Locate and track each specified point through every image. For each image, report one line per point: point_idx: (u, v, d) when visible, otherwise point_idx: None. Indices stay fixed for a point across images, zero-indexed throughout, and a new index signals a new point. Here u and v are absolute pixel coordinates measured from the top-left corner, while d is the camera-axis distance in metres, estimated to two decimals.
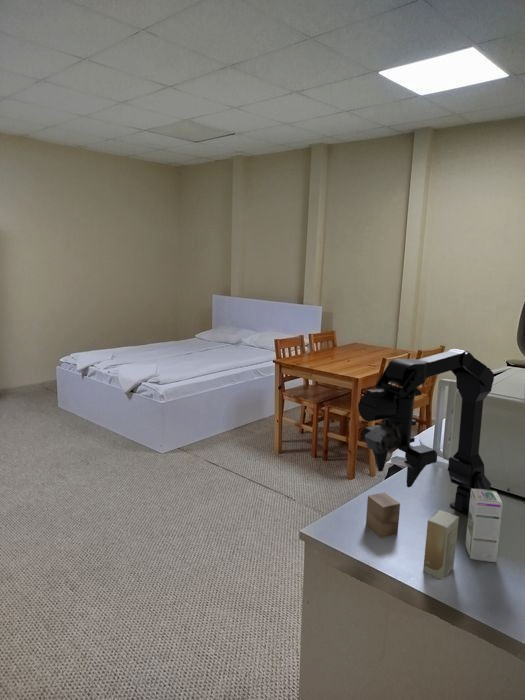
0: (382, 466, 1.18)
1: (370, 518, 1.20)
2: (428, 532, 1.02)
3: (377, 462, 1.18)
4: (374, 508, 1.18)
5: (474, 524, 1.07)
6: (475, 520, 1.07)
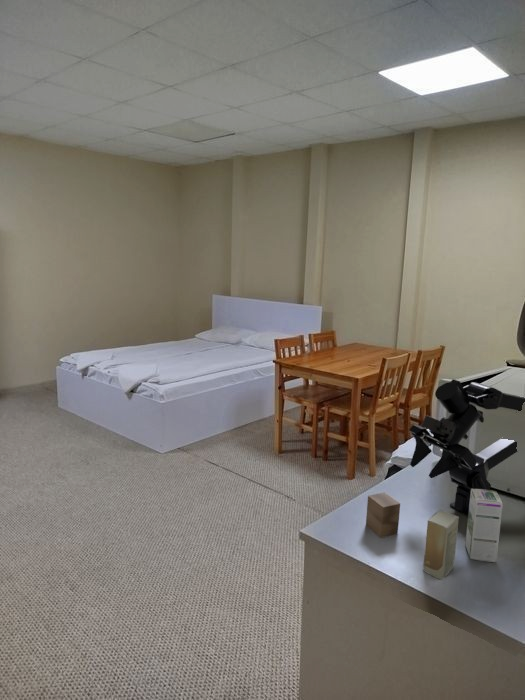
0: (415, 463, 1.25)
1: (370, 518, 1.20)
2: (428, 532, 1.02)
3: (413, 456, 1.25)
4: (374, 508, 1.18)
5: (474, 524, 1.07)
6: (475, 520, 1.07)
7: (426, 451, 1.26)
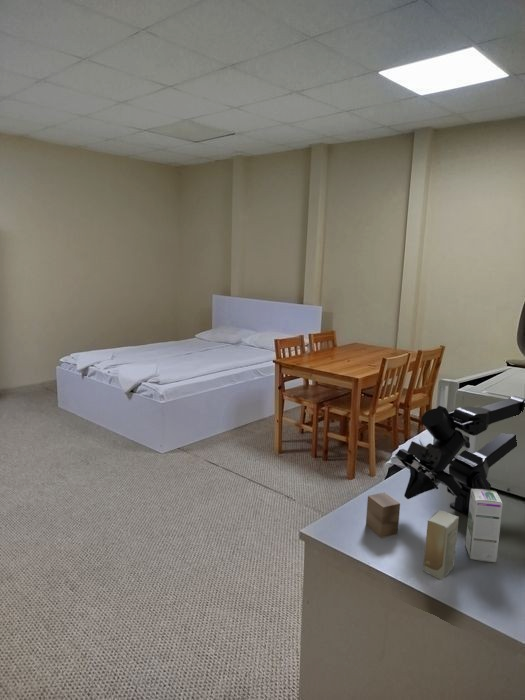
0: None
1: (370, 518, 1.20)
2: (428, 532, 1.02)
3: (408, 487, 1.22)
4: (374, 508, 1.18)
5: (474, 524, 1.07)
6: (475, 520, 1.07)
7: None
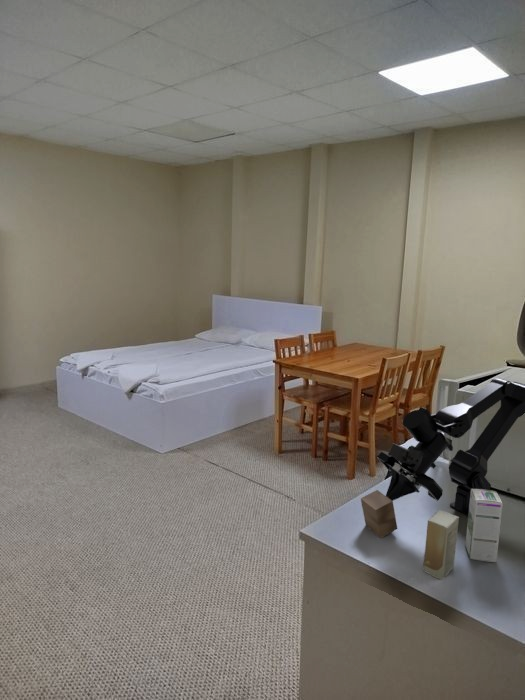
0: None
1: (368, 519, 1.19)
2: (428, 532, 1.02)
3: (388, 490, 1.19)
4: (368, 510, 1.17)
5: (474, 524, 1.07)
6: (475, 520, 1.07)
7: None
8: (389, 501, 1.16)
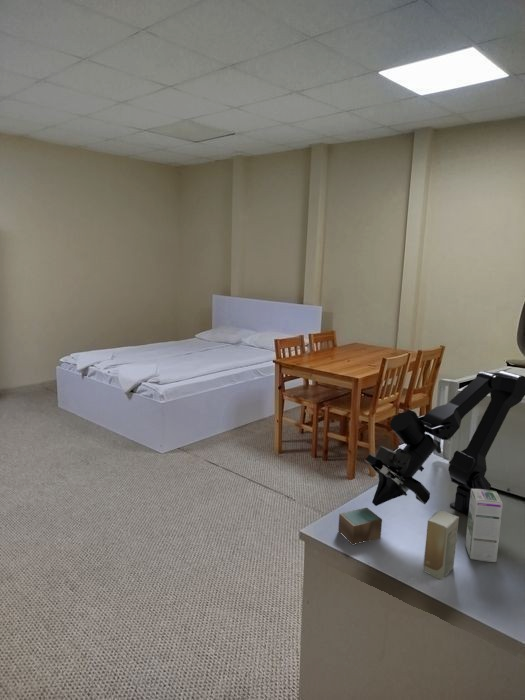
0: None
1: None
2: (428, 532, 1.02)
3: (376, 493, 1.18)
4: None
5: (474, 524, 1.07)
6: (475, 520, 1.07)
7: None
8: (352, 527, 1.13)
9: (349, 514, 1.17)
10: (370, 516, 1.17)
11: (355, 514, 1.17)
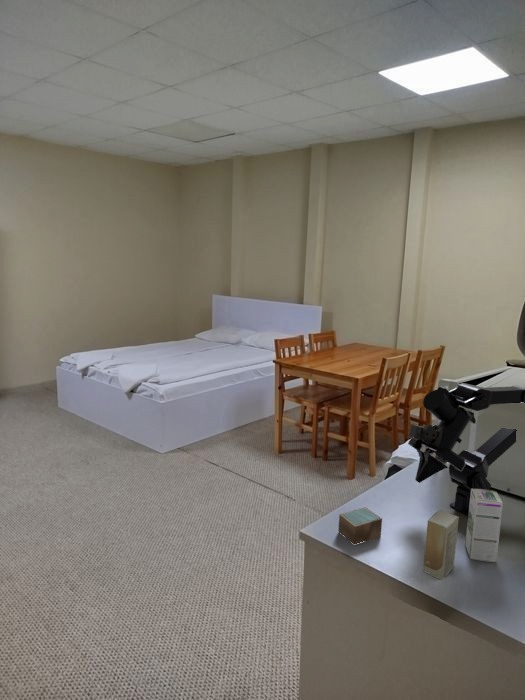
0: None
1: None
2: (428, 532, 1.02)
3: (418, 471, 1.22)
4: None
5: (474, 524, 1.07)
6: (475, 520, 1.07)
7: None
8: (354, 528, 1.13)
9: (349, 514, 1.17)
10: (370, 516, 1.17)
11: (355, 514, 1.17)
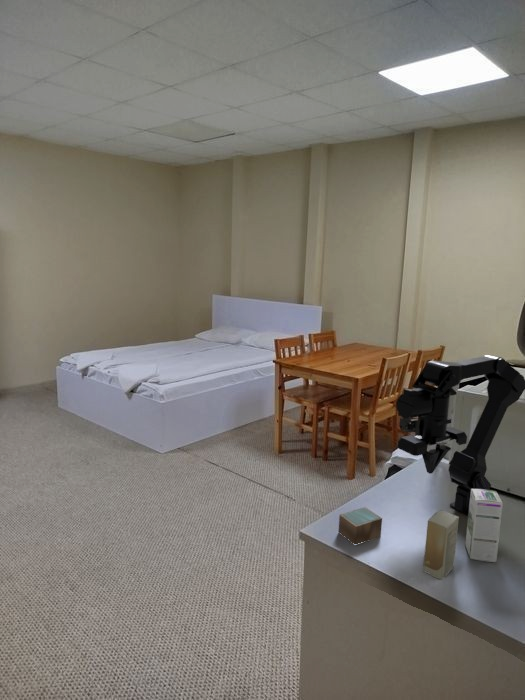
0: None
1: None
2: (428, 532, 1.02)
3: None
4: None
5: (474, 524, 1.07)
6: (475, 520, 1.07)
7: None
8: (354, 528, 1.12)
9: (349, 514, 1.17)
10: (370, 515, 1.17)
11: (355, 514, 1.17)
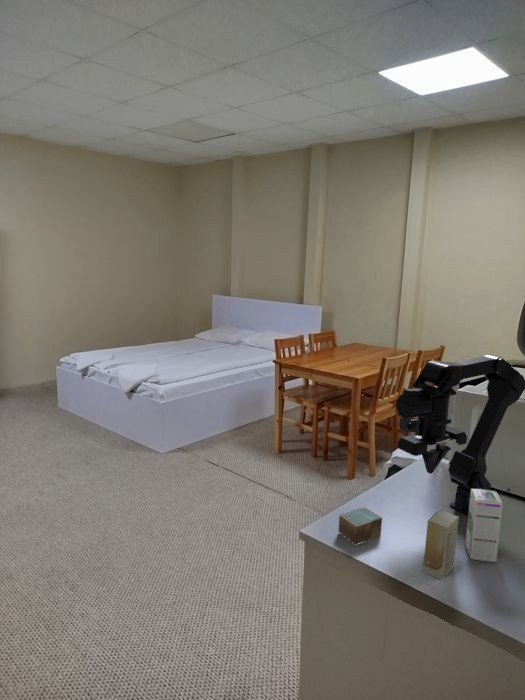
0: None
1: None
2: (428, 532, 1.02)
3: None
4: None
5: (474, 524, 1.07)
6: (475, 520, 1.07)
7: None
8: (355, 528, 1.12)
9: (349, 515, 1.17)
10: (370, 515, 1.17)
11: (355, 514, 1.17)
